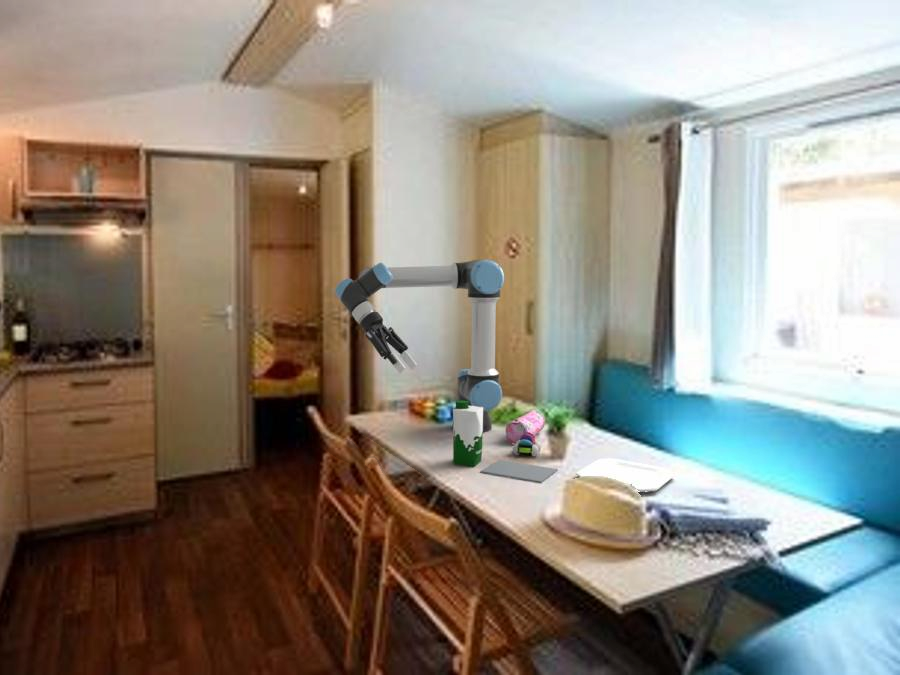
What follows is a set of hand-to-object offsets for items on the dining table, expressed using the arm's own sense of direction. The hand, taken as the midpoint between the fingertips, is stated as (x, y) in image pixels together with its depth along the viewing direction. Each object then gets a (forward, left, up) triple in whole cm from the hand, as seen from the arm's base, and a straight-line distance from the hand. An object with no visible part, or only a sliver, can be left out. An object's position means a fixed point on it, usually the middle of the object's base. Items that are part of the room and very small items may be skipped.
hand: (408, 369), depth 234 cm
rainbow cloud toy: (-25, +31, -29) cm, 50 cm away
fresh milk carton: (-3, +23, -29) cm, 37 cm away
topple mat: (-6, +40, -28) cm, 50 cm away
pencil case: (-42, +20, -29) cm, 55 cm away
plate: (-21, +69, -29) cm, 77 cm away
